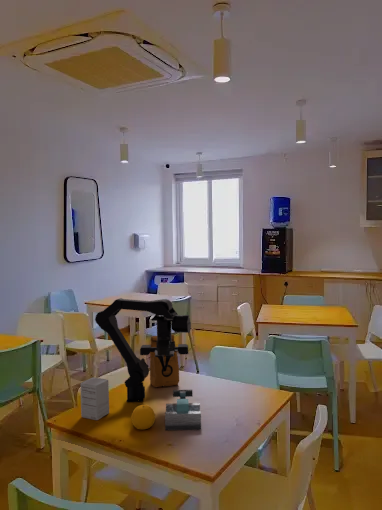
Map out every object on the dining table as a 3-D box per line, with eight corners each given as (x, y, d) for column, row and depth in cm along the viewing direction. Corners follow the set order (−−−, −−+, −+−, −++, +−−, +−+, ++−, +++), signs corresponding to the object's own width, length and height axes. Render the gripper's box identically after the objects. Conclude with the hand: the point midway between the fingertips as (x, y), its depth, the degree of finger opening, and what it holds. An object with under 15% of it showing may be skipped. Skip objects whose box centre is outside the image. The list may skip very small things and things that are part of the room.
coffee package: (181, 387, 186) (180, 336, 185) (152, 389, 182) (151, 338, 182) (175, 379, 195) (175, 332, 194) (148, 382, 192) (147, 333, 191)
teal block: (177, 415, 151) (176, 399, 151) (188, 415, 151) (188, 398, 151) (177, 421, 146) (176, 404, 146) (188, 421, 146) (188, 404, 146)
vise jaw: (166, 415, 151) (165, 395, 150) (166, 408, 157) (166, 389, 156) (200, 414, 151) (199, 394, 151) (199, 408, 157) (199, 388, 157)
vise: (165, 430, 143) (165, 415, 143) (167, 409, 161) (166, 396, 161) (201, 429, 143) (201, 414, 143) (198, 408, 161) (198, 395, 161)
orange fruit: (151, 421, 150) (151, 399, 150) (158, 430, 143) (157, 407, 143) (129, 424, 148) (129, 403, 148) (134, 434, 140) (134, 411, 140)
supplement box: (93, 410, 161) (93, 376, 161) (109, 413, 158) (109, 379, 157) (80, 417, 154) (79, 382, 154) (97, 420, 151) (96, 385, 151)
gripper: (138, 336, 160) (138, 378, 160) (188, 335, 160) (188, 377, 160) (141, 330, 171) (141, 369, 171) (187, 329, 171) (188, 368, 172)
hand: (164, 371), depth 168 cm, fingers closed
